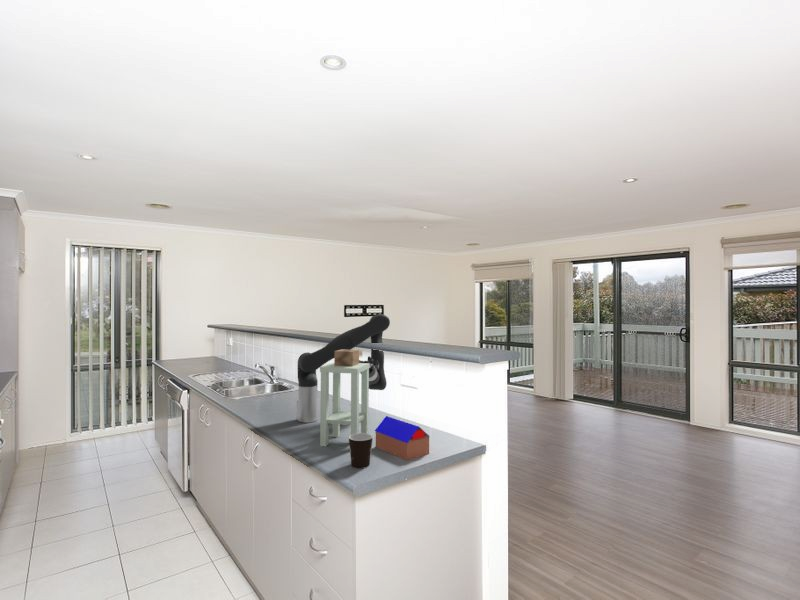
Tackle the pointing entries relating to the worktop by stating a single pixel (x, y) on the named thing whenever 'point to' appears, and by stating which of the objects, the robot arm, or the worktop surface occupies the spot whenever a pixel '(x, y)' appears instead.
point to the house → (402, 439)
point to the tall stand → (337, 415)
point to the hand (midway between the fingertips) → (359, 357)
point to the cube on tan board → (347, 357)
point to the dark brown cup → (360, 449)
